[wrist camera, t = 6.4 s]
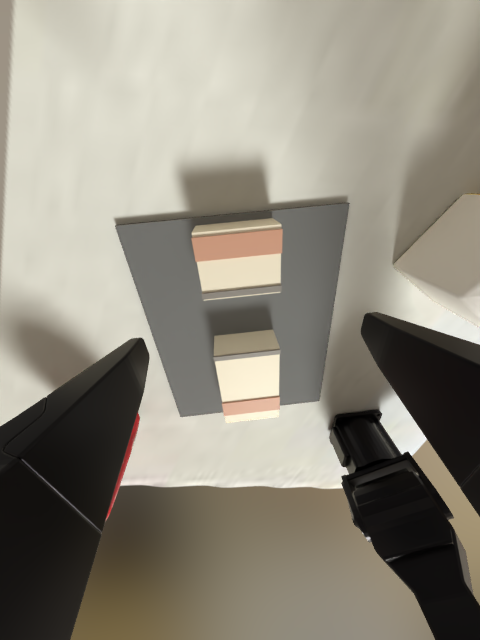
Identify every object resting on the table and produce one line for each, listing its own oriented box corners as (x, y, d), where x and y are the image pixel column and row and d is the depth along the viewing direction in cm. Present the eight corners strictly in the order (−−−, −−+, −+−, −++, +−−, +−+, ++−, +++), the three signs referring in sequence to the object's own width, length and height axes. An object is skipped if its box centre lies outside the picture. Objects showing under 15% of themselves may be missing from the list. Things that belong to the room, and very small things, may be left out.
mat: (347, 202, 18) (349, 203, 18) (318, 398, 30) (319, 400, 30) (116, 225, 18) (114, 226, 17) (181, 414, 30) (180, 417, 29)
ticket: (273, 329, 23) (280, 348, 21) (273, 395, 28) (279, 418, 26) (213, 335, 23) (213, 356, 20) (225, 401, 28) (225, 424, 26)
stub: (273, 218, 18) (282, 224, 15) (273, 278, 20) (281, 293, 18) (194, 225, 18) (190, 233, 15) (205, 285, 20) (203, 301, 18)
